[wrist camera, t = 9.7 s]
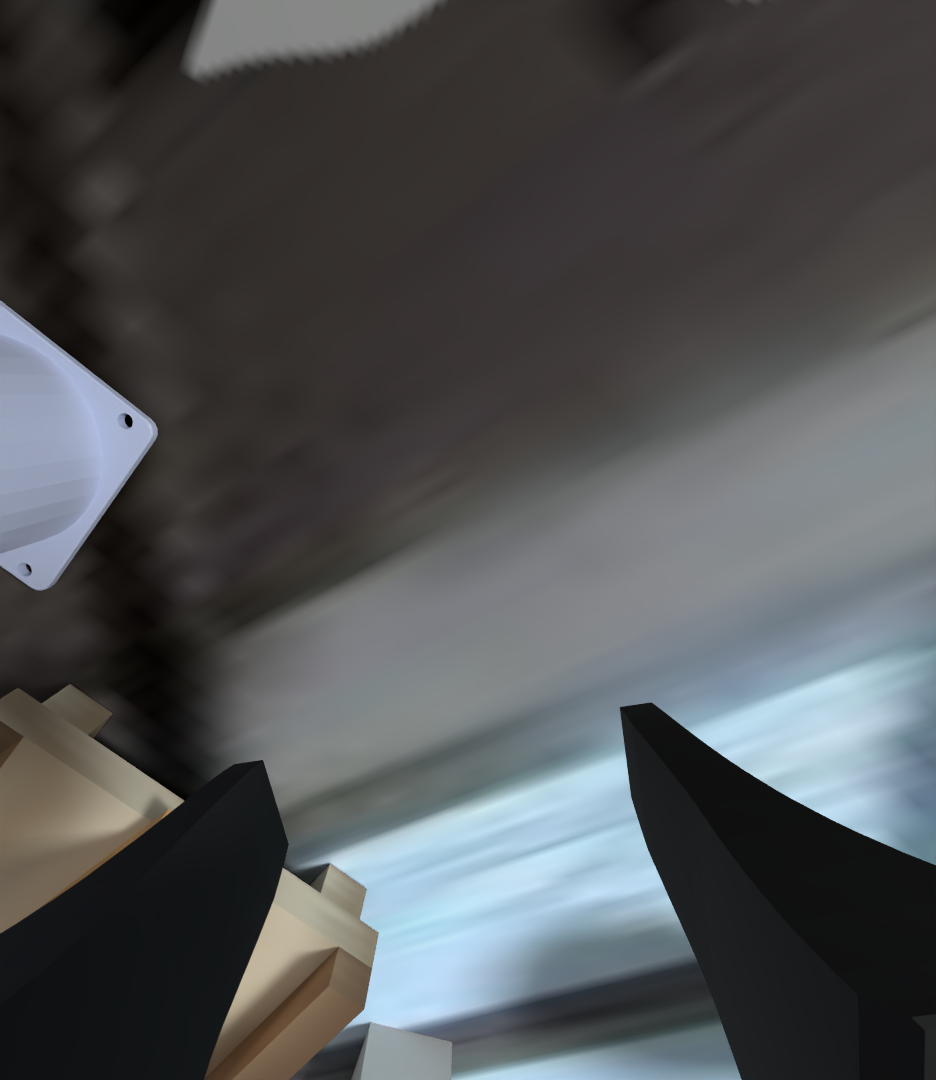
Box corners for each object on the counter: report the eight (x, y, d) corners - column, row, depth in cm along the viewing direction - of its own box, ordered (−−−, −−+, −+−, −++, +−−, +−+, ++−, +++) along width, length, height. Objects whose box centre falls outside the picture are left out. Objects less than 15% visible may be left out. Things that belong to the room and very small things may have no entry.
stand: (-68, 829, 24) (-189, 923, 20) (48, 668, 22) (-58, 734, 18) (254, 1029, 27) (209, 1153, 22) (384, 901, 25) (364, 1009, 20)
